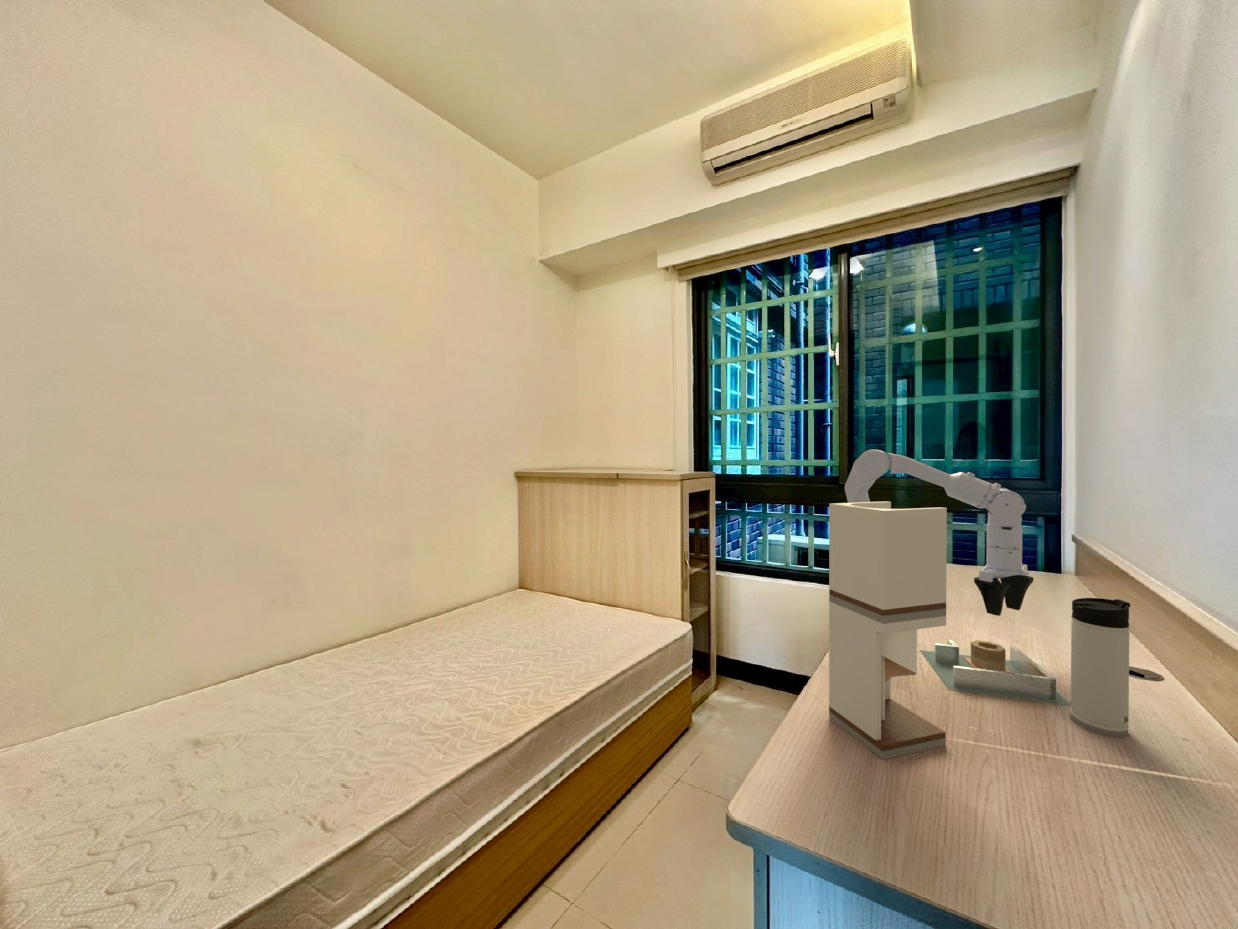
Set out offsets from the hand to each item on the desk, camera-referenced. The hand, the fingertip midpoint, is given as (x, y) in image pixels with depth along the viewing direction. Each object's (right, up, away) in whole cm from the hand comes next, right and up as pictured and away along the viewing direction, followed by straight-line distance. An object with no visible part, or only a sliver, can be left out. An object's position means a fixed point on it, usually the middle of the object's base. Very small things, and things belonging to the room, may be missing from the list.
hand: (1003, 611), depth 97 cm
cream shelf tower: (-40, -11, -25) cm, 48 cm away
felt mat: (-10, -10, -8) cm, 16 cm away
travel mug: (-5, -11, -24) cm, 27 cm away
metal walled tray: (-10, -10, -7) cm, 16 cm away
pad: (-7, -10, -4) cm, 13 cm away
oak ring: (-7, -9, -4) cm, 12 cm away
